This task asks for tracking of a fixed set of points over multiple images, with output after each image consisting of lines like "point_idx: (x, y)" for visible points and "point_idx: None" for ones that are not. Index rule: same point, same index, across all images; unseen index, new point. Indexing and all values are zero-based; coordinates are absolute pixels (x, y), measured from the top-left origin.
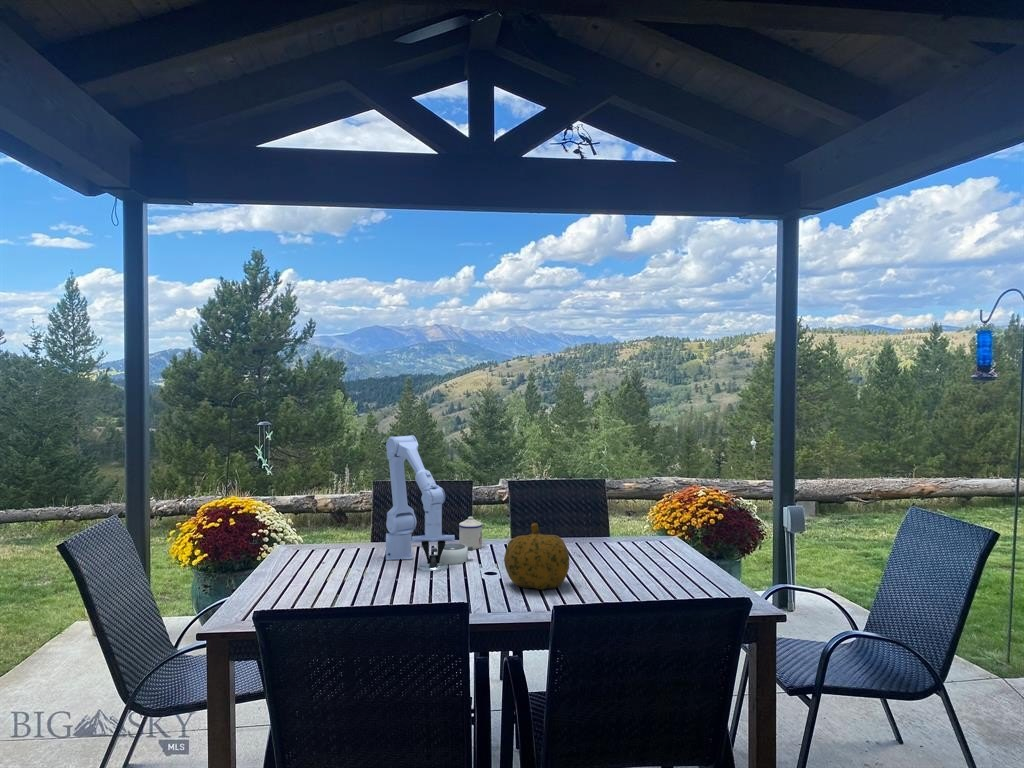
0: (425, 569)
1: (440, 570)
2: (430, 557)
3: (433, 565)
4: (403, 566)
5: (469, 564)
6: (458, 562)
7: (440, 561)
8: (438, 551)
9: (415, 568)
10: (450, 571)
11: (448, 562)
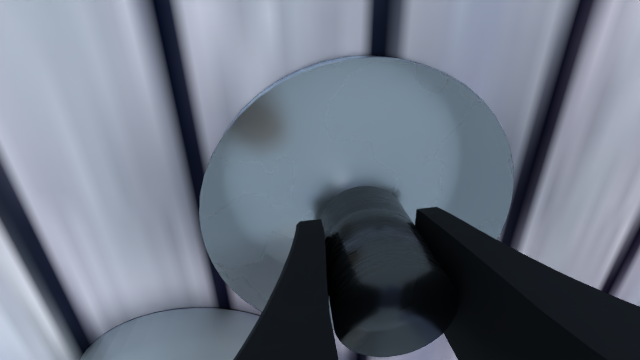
0: (462, 83)
1: (275, 83)
2: (438, 264)
3: (365, 192)
4: (600, 250)
5: (9, 312)
6: (120, 333)
7: None
8: (327, 347)
9: (525, 192)
10: (136, 45)
11: (217, 323)
